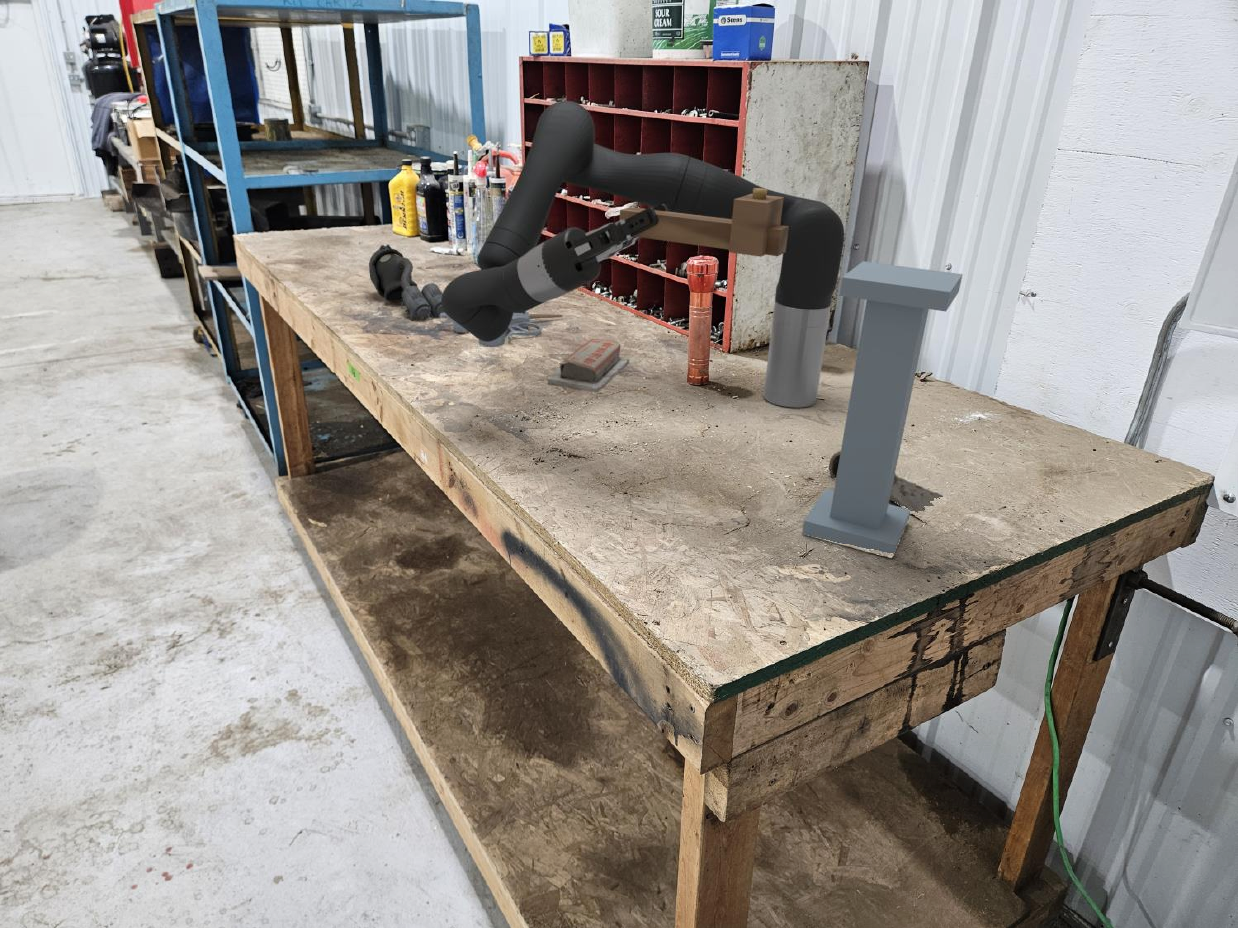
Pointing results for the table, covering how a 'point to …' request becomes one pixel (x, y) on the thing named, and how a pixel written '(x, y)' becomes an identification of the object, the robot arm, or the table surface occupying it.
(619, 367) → the packaged product
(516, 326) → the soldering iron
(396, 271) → the gas mask
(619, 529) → the table surface
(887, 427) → the stand
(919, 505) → the axe head
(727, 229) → the marking gauge
